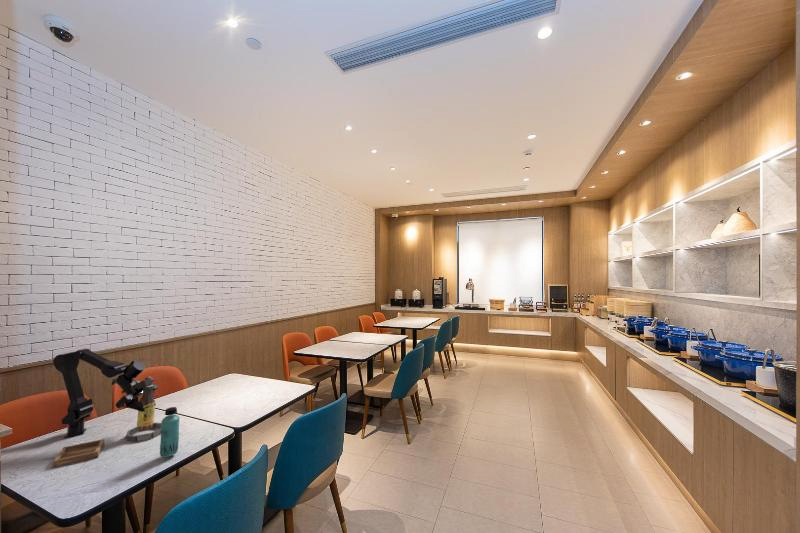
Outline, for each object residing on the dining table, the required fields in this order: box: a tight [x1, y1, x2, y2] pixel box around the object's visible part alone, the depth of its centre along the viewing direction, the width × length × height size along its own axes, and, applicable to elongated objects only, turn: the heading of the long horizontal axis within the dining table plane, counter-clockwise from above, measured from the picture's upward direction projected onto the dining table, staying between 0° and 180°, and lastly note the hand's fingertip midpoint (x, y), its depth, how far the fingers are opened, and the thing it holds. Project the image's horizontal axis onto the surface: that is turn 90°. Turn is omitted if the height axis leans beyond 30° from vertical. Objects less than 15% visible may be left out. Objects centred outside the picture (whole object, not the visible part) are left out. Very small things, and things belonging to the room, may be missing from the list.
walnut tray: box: [52, 438, 105, 469], centre depth 133 cm, size 13×13×2 cm
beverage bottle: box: [159, 406, 181, 458], centre depth 133 cm, size 6×7×20 cm
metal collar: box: [125, 421, 162, 443], centre depth 152 cm, size 14×14×2 cm
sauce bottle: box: [136, 384, 156, 431], centre depth 152 cm, size 7×6×20 cm
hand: (149, 408), depth 152 cm, fingers closed on sauce bottle, 6 cm apart
